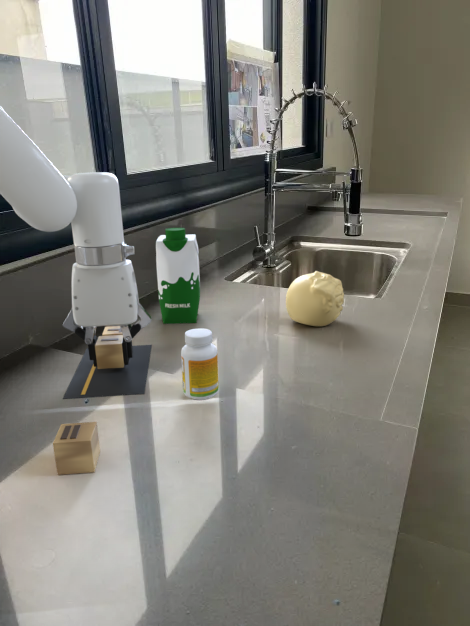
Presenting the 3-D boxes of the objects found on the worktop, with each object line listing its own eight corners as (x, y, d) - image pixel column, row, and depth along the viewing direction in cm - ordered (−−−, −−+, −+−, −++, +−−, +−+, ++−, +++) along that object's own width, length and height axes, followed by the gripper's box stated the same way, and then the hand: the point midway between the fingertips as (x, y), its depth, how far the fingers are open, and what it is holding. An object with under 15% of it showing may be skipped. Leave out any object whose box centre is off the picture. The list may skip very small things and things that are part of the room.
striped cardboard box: (57, 475, 57) (52, 442, 55) (65, 454, 61) (60, 423, 59) (94, 472, 57) (90, 439, 56) (100, 451, 61) (96, 420, 60)
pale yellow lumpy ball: (337, 334, 98) (339, 281, 94) (278, 327, 102) (279, 276, 99) (347, 316, 108) (349, 268, 104) (293, 311, 112) (294, 264, 109)
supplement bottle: (226, 391, 75) (224, 331, 72) (200, 404, 72) (197, 342, 69) (201, 381, 79) (199, 323, 76) (175, 393, 75) (172, 333, 72)
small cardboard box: (104, 356, 88) (101, 333, 87) (107, 347, 92) (105, 325, 91) (128, 355, 89) (126, 332, 87) (130, 346, 93) (128, 324, 91)
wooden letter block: (97, 369, 81) (94, 344, 80) (101, 358, 85) (98, 335, 83) (123, 367, 81) (121, 343, 80) (126, 357, 85) (124, 334, 84)
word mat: (62, 401, 73) (62, 398, 73) (86, 350, 92) (86, 347, 92) (144, 396, 74) (144, 393, 74) (151, 346, 93) (151, 344, 93)
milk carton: (158, 327, 104) (151, 231, 97) (163, 313, 112) (157, 224, 106) (200, 325, 104) (196, 230, 98) (202, 312, 112) (198, 223, 106)
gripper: (156, 248, 82) (163, 350, 87) (51, 252, 80) (65, 356, 86) (153, 257, 74) (162, 368, 80) (38, 262, 73) (55, 375, 79)
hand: (112, 361), depth 83 cm, fingers closed on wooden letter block, 4 cm apart
